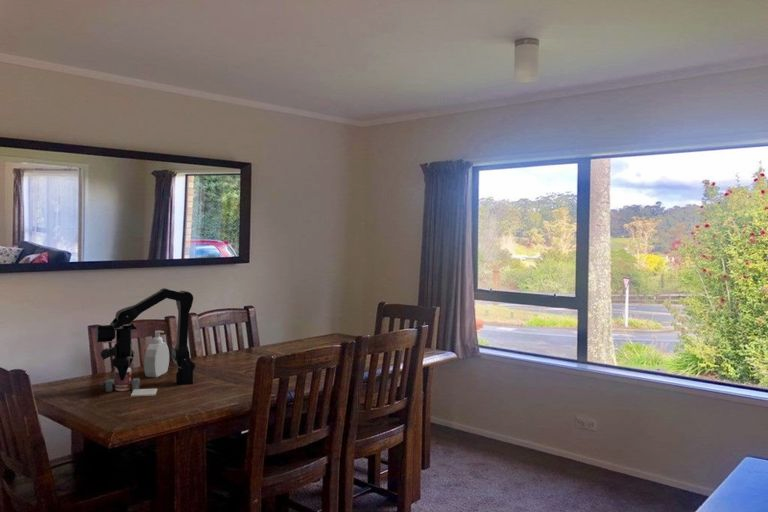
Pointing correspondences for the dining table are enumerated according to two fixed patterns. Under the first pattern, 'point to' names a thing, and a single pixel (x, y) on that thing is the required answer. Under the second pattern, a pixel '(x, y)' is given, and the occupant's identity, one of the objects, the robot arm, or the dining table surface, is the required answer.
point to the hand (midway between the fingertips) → (123, 378)
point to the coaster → (144, 392)
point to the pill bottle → (123, 381)
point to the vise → (111, 385)
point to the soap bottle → (156, 357)
